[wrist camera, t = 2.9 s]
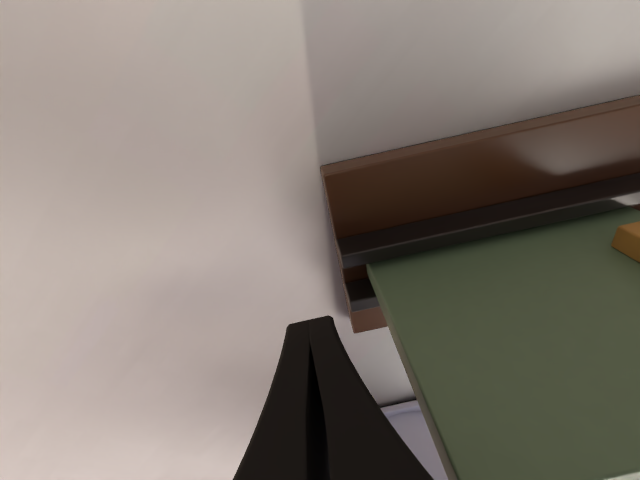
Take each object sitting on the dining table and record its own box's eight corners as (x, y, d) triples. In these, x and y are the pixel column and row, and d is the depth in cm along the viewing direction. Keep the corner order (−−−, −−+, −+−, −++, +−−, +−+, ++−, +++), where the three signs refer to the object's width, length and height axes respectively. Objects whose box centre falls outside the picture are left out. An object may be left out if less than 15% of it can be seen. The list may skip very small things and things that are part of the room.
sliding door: (606, 220, 13) (990, 416, 6) (367, 273, 13) (466, 528, 6) (620, 179, 12) (1098, 355, 5) (361, 237, 12) (473, 488, 5)
